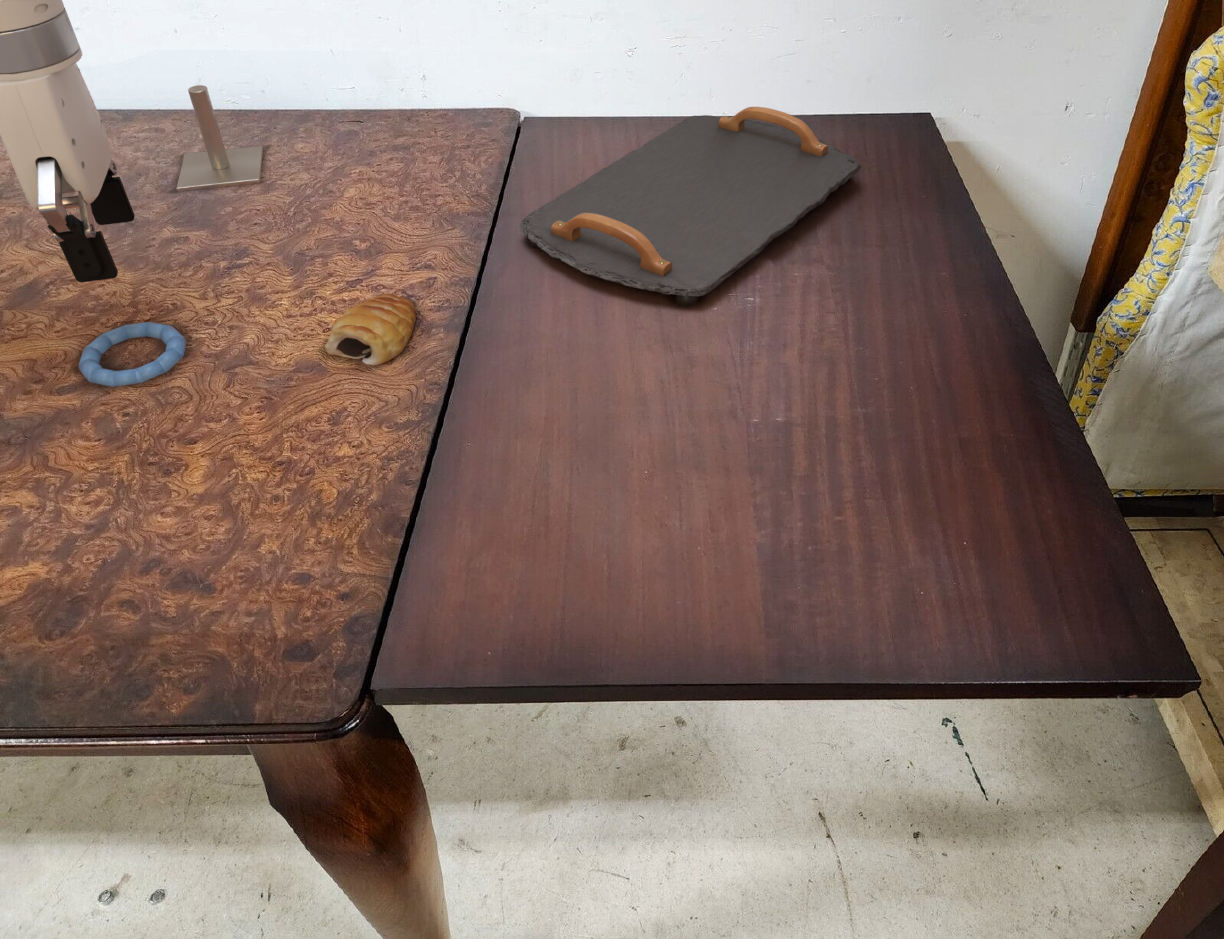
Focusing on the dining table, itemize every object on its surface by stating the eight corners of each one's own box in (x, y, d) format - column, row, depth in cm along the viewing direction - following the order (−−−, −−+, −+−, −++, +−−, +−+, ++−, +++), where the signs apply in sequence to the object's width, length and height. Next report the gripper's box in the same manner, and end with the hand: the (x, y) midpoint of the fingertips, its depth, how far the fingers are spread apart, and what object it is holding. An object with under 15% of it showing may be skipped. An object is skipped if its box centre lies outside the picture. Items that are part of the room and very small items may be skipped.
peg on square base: (179, 197, 110) (149, 108, 103) (187, 162, 116) (159, 76, 109) (261, 189, 111) (237, 100, 104) (265, 154, 118) (242, 69, 111)
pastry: (370, 306, 93) (363, 271, 91) (435, 317, 92) (430, 282, 89) (322, 363, 87) (313, 327, 84) (391, 376, 85) (384, 340, 83)
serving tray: (705, 127, 122) (708, 77, 118) (875, 177, 112) (884, 124, 107) (497, 258, 100) (491, 202, 95) (685, 336, 89) (688, 277, 85)
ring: (75, 399, 84) (68, 384, 82) (93, 340, 90) (86, 326, 89) (182, 384, 85) (177, 370, 84) (192, 328, 91) (187, 313, 90)
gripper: (-6, 10, 78) (80, 207, 89) (-69, 92, 65) (40, 310, 77) (94, 0, 79) (165, 197, 90) (50, 80, 66) (140, 296, 78)
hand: (108, 249), depth 83 cm, fingers open, 9 cm apart
